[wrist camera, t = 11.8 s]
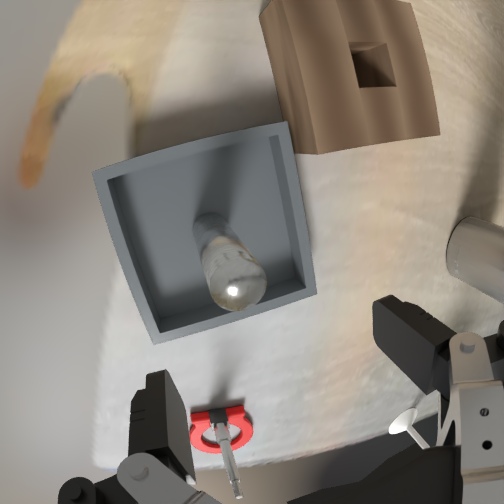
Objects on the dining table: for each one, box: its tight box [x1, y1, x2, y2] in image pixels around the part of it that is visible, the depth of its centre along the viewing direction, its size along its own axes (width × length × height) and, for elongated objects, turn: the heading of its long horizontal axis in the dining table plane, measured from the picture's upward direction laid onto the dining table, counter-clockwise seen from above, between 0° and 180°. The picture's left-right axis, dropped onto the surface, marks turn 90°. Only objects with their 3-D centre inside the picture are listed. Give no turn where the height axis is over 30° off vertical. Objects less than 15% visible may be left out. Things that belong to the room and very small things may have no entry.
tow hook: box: [189, 406, 253, 499], centre depth 32 cm, size 8×13×9 cm
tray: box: [92, 121, 317, 345], centre depth 28 cm, size 16×16×4 cm
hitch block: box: [259, 0, 440, 155], centre depth 25 cm, size 14×14×6 cm
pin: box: [192, 213, 267, 311], centre depth 23 cm, size 3×3×12 cm
